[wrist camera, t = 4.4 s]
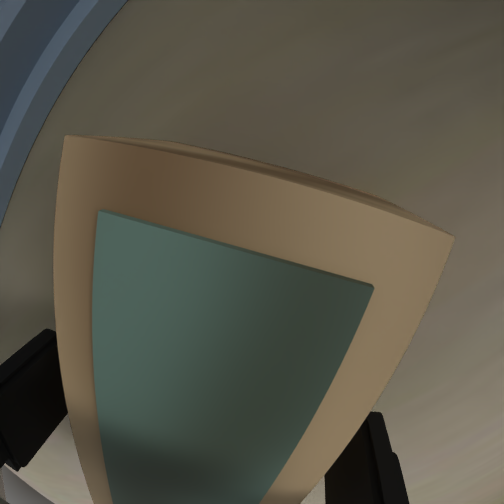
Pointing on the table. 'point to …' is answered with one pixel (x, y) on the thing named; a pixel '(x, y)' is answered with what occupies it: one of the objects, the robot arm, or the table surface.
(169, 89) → the table surface
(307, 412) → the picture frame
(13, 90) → the blue tray
